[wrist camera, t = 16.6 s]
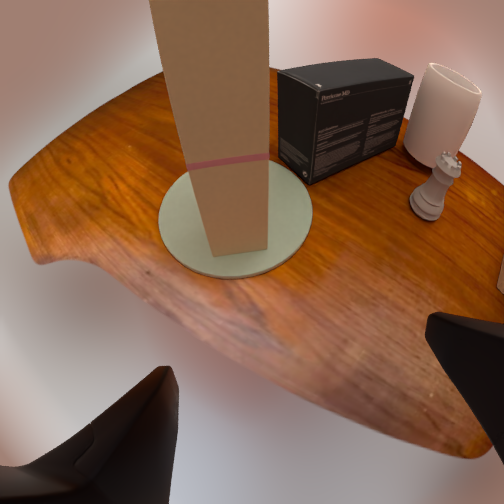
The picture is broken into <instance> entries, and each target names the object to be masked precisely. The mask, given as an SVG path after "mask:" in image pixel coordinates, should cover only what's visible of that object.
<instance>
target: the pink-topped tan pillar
mask: <svg viewBox="0 0 504 504" xmlns="http://www.w3.org/2000/svg"><path fill="white" fill-rule="evenodd" d="M149 3H150V8H151V14H152V19H153V24H154V29H155V34H156V39H157V44H158V49H159V54H160V58H161V63H162V67H163V72H164V76H165V81H166V85H167V89H168V94H169V98H170V102H171V106H172V110H173V115H174V119H175V123H176V127H177V131H178V135H179V138H180V142H181V146H182V150H183V154H184V158H185V161H186V166H187V170H188V173H189V176H190V180H191V184H192V187H193V191H194V194H195V198H196V201H197V205H198V208H199V212H200V215H201V219H202V222H203V226H204V229H205V232H206V236H207V239H208V242H209V246H210V249H211V252H212V256H213V257H217V256H224V255H231V254H238V253H245V252H252V251H259V250H266V249H268V199H269V15H268V0H149Z"/></svg>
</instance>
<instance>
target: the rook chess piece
mask: <svg viewBox="0 0 504 504" xmlns="http://www.w3.org/2000/svg"><path fill="white" fill-rule="evenodd" d="M445 154H446V155H445ZM450 156H451V153H450V152H447V153H445V151H444V152H442V154H441V155H439V156H437V157H436V159H435V160H436V165H437V166H436V167H434V168H433V169H432V172H433V173H432V175H431V176H430V177H429V179H428V180H427V181H426V183H424V184H422V185H421V186H418V187H417V188H415V189H414V192H413V193H412V194H411V196H410V204H411V207H412V209H413V211H414V212H415V213H416V214H417V215H418V216H419V217H421V218H422V219H425V220H428V221H429V220H436V219H438V218H439V217H440V213H442V211H443V207H444V196H445V194H446V192H447V189H448V188H449V186H450V185H452V184H453V179H454V178H457V177H459V176H460V174H461V172H460V168H461V162H459V161H458V163H457V162H456V161H457V160H458V158H457V157H456V156H454V158H451V157H450Z"/></svg>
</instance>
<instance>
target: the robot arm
mask: <svg viewBox="0 0 504 504" xmlns="http://www.w3.org/2000/svg"><path fill="white" fill-rule="evenodd" d="M425 338H426V341H427V342H428V344H429V346H430V347H431V349H432V351H433V352H434V354H435V356H436V358H437V359H438V361H439V363H440V364H441V366H442V368H443V369H444V371H445V372H446V374H447V375H448V377H449V378H450V379H451V381H452V382H453V384H454V385H455V386H456V388H457V389H458V391H459V392H460V394H461V395H462V397H463V398H464V400H465V401H466V403H467V404H468V406H469V407H470V409H471V410H472V412H473V413H474V415H475V416H476V418H477V420H478V421H479V423H480V424H481V426H482V428H483V429H484V431H485V432H486V434H487V436H488V437H489V439H490V441H491V442H492V444H493V446H494V448H495V450H496V451H497V453H498V455H499V457H500V458H501V461H502V462H503V464H504V324H500V323H495V322H489V321H484V320H479V319H473V318H468V317H463V316H458V315H453V314H447V313H442V312H435V313H432V314H430V315H429V316H428V319H427V325H426V331H425ZM178 407H179V388H178V384H177V381H176V378H175V375H174V372H173V370H172V368H171V367H170V366H159V367H157V368H156V369H154V370H153V371H152V372H151V373H150V374H149V375H147V376H146V377H145V378H144V379H143V380H141V381H140V382H139V383H138V384H137V385H136V386H134V387H133V388H132V389H131V390H129V391H128V392H127V393H126V394H125V395H123V397H121V398H120V399H119V400H118V401H116V402H115V403H114V404H113V405H111V406H110V407H109V408H108V409H106V410H105V411H104V412H103V413H102V414H100V415H99V416H98V417H97V418H95V419H94V420H93V421H92V422H91V424H88V425H87V426H85V427H84V428H83V429H82V430H80V431H79V432H78V433H76V434H75V435H74V436H72V437H71V438H70V439H68V440H67V441H65V442H64V443H62V444H61V445H59V446H57V447H56V448H54V449H53V450H51V451H49V452H48V453H46V454H45V455H43V456H41V457H40V458H38V459H36V460H35V461H33V462H31V463H29V464H27V465H24V466H19V467H9V466H0V504H169V496H170V487H171V478H172V471H173V463H174V455H175V447H176V441H177V433H178Z"/></svg>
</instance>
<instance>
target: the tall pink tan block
mask: <svg viewBox="0 0 504 504" xmlns="http://www.w3.org/2000/svg"><path fill="white" fill-rule="evenodd" d="M497 288H498V289H499V290H500V291H501V292H502V293H503V294H504V256H503V261H502V266H501V270H500V275H499V279H498V283H497Z"/></svg>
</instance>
